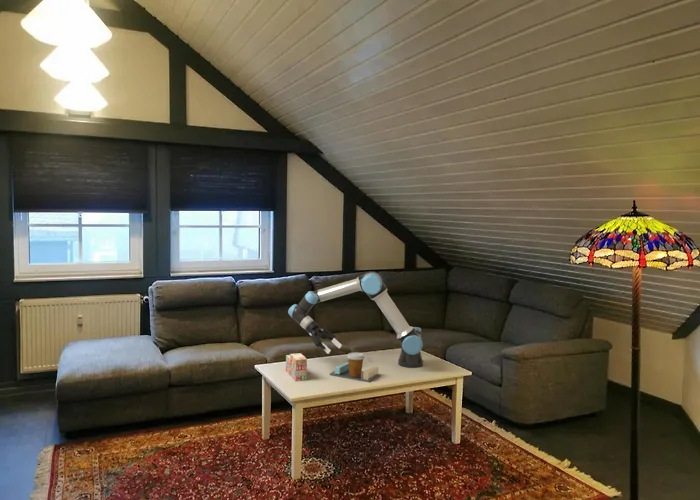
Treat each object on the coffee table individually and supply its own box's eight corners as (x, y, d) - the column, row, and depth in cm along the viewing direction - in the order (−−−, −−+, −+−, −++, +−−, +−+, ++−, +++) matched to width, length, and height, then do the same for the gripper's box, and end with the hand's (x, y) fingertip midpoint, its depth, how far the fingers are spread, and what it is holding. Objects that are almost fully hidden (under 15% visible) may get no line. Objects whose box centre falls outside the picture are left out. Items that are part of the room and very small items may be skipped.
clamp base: (329, 375, 317) (329, 366, 316) (341, 369, 329) (341, 360, 329) (369, 382, 305) (369, 373, 305) (380, 376, 318) (380, 367, 317)
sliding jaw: (334, 373, 316) (334, 367, 315) (345, 368, 327) (345, 361, 327) (339, 374, 314) (339, 368, 314) (350, 368, 326) (350, 362, 326)
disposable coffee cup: (366, 375, 315) (367, 354, 314) (357, 379, 307) (358, 357, 307) (352, 371, 321) (353, 351, 320) (343, 375, 313) (343, 354, 312)
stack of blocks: (285, 370, 324) (285, 349, 323) (295, 369, 326) (296, 349, 325) (295, 381, 304) (296, 359, 303) (306, 380, 306) (307, 358, 305)
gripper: (316, 326, 342) (341, 349, 335) (294, 334, 319) (321, 359, 313) (323, 316, 339) (348, 340, 332) (301, 324, 317) (328, 349, 310)
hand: (335, 349), depth 323 cm, fingers open, 13 cm apart
